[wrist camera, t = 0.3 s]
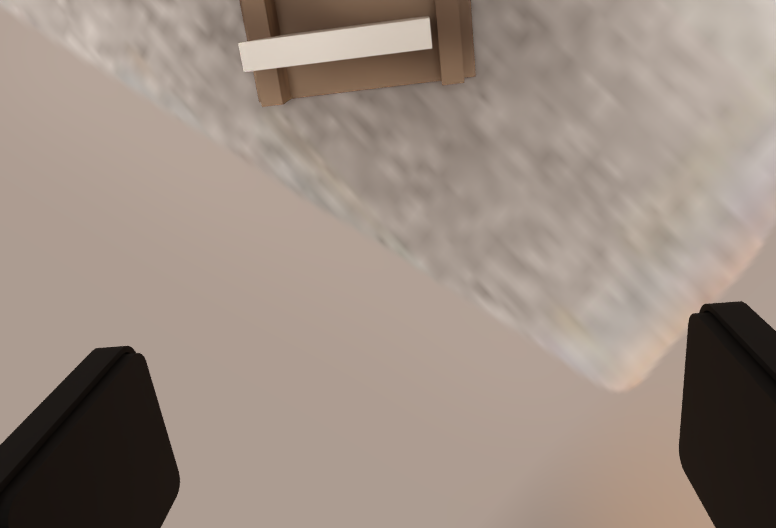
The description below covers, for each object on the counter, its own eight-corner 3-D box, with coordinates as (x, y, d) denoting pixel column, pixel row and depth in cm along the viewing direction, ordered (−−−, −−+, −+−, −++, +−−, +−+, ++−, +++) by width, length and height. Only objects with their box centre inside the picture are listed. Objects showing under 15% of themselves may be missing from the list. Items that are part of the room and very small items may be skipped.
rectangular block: (286, 34, 36) (238, 43, 27) (428, 15, 35) (429, 18, 26) (290, 56, 36) (243, 72, 27) (430, 38, 35) (432, 48, 26)
